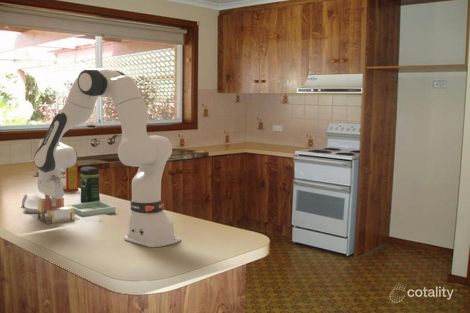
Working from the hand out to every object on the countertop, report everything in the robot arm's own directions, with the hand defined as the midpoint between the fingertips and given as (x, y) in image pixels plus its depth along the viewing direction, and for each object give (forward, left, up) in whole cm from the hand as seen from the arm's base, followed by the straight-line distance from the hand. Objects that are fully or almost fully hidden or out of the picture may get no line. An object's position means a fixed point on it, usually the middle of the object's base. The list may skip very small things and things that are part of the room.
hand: (51, 205), depth 209 cm
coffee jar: (+16, -26, -6) cm, 31 cm away
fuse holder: (-5, 0, -6) cm, 7 cm away
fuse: (0, 0, -2) cm, 2 cm away
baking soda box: (+56, -32, -6) cm, 65 cm away
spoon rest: (+18, +1, -6) cm, 19 cm away
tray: (-2, -18, -6) cm, 19 cm away
